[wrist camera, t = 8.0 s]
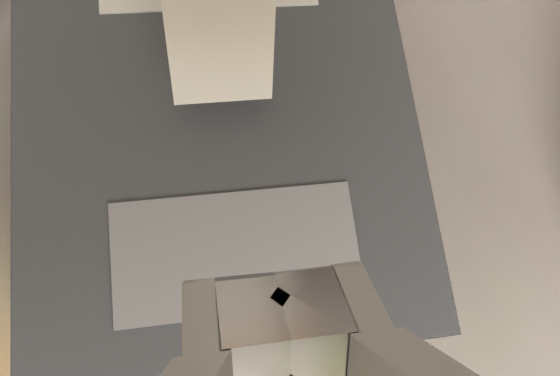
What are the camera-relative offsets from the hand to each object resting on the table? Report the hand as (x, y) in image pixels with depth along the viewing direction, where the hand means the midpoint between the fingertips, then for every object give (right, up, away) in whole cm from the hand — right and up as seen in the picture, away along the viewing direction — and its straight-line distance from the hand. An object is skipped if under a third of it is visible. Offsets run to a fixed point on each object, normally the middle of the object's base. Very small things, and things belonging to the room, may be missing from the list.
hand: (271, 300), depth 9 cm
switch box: (-3, +4, +15) cm, 16 cm away
